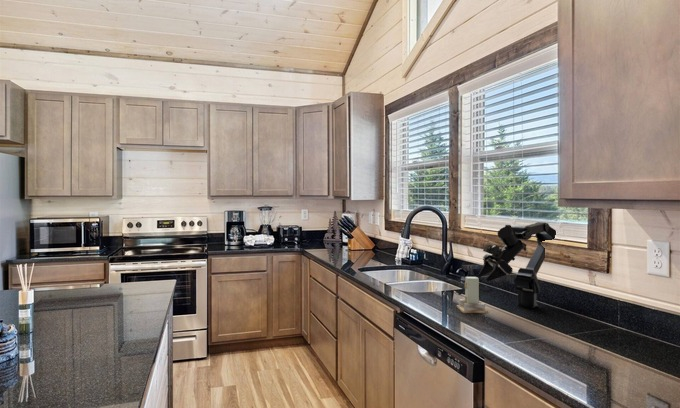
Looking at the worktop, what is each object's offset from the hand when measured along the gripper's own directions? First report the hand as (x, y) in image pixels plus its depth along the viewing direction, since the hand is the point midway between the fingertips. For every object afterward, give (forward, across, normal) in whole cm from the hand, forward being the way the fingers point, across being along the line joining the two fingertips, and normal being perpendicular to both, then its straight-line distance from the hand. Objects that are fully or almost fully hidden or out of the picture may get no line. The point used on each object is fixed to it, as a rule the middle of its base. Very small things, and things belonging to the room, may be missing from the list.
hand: (482, 278), depth 177 cm
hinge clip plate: (+12, 0, +6) cm, 14 cm away
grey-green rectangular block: (+12, 0, +5) cm, 13 cm away
